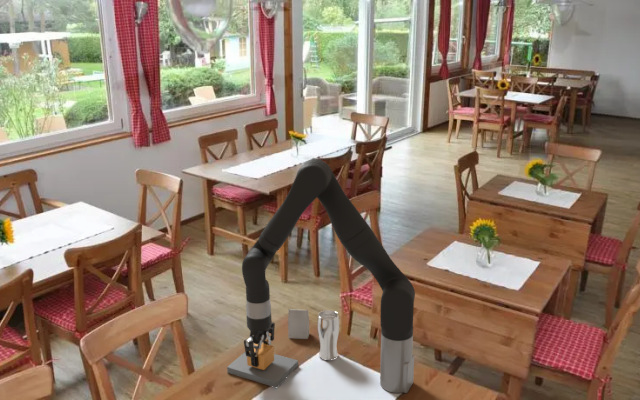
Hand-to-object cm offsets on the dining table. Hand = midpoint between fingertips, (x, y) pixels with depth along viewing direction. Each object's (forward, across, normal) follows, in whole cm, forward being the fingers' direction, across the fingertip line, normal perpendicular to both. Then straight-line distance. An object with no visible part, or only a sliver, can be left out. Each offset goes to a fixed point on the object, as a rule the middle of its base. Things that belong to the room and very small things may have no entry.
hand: (261, 360), depth 184 cm
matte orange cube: (+1, 0, 0) cm, 1 cm away
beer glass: (+4, +17, -15) cm, 23 cm away
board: (+4, +1, 0) cm, 4 cm away
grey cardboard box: (+4, +24, 0) cm, 24 cm away
